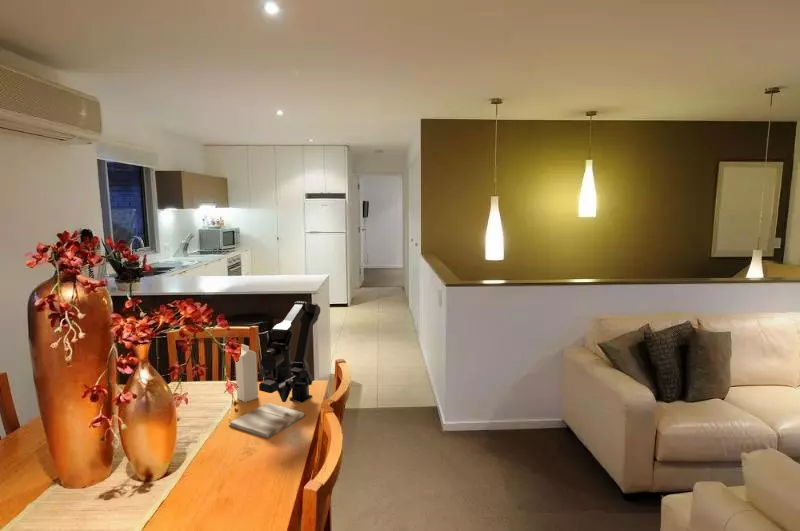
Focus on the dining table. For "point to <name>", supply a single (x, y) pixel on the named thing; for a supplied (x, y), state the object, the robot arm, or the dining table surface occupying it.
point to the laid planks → (261, 423)
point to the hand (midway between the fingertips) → (284, 401)
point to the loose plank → (281, 411)
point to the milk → (246, 375)
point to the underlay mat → (263, 436)
